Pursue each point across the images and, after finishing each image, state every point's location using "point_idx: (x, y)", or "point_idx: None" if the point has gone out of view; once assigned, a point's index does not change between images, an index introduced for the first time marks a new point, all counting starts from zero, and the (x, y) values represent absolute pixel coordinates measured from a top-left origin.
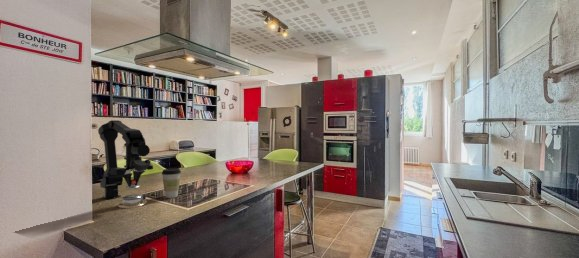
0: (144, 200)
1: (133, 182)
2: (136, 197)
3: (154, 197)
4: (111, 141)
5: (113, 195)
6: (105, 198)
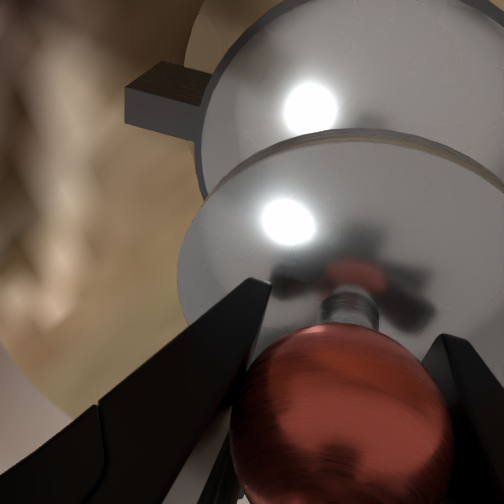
0: (195, 53)
1: (414, 386)
2: (432, 44)
3: (3, 43)
4: None
5: (219, 452)
6: None
